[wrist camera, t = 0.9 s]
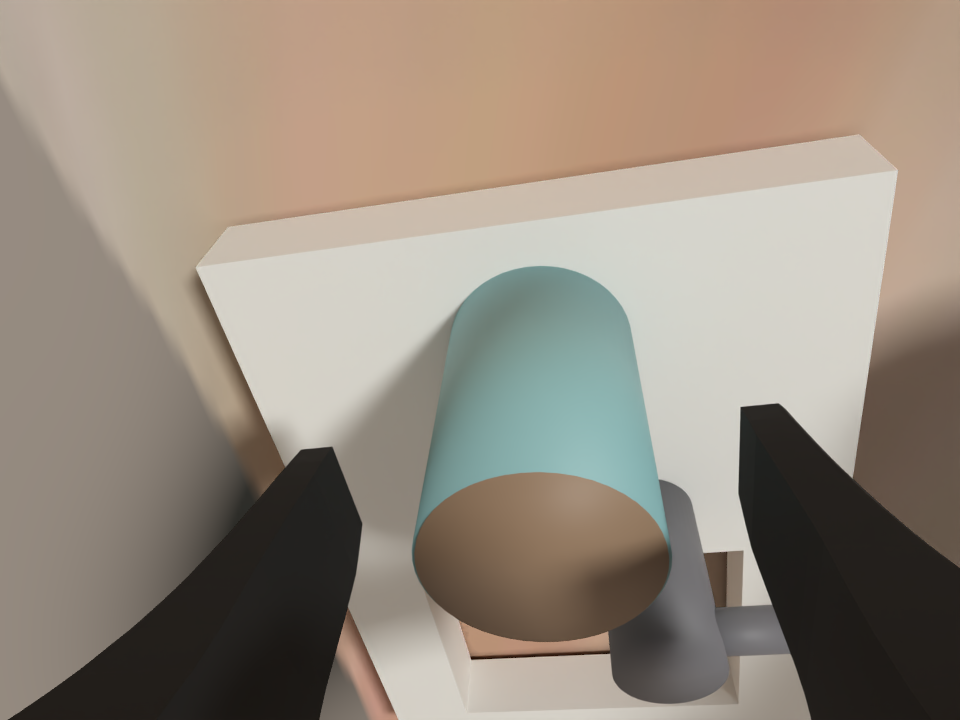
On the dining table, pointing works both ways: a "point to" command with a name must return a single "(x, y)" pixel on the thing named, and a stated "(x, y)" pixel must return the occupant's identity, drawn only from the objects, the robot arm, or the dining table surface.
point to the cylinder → (541, 465)
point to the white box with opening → (663, 375)
